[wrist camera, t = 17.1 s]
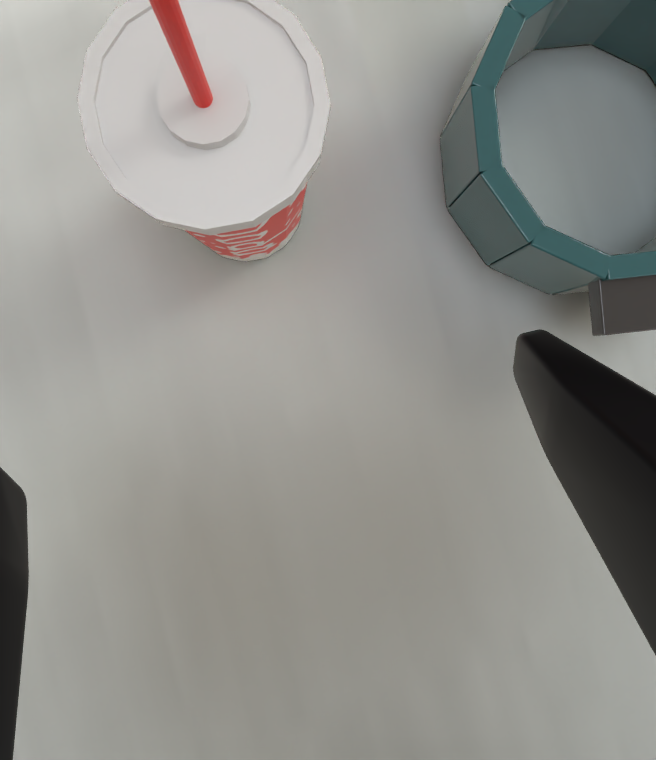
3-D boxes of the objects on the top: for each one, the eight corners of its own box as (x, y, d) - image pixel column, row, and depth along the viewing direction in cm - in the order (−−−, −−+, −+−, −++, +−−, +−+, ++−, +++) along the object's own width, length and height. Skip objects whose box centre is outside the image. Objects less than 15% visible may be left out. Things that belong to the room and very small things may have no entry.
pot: (460, 349, 24) (496, 347, 19) (424, -7, 23) (453, -96, 19) (715, 322, 24) (809, 313, 19) (685, -30, 23) (774, -123, 19)
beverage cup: (167, 279, 23) (-51, 152, 9) (167, 123, 23) (-56, -252, 9) (321, 281, 23) (341, 160, 9) (322, 126, 23) (343, -236, 9)
